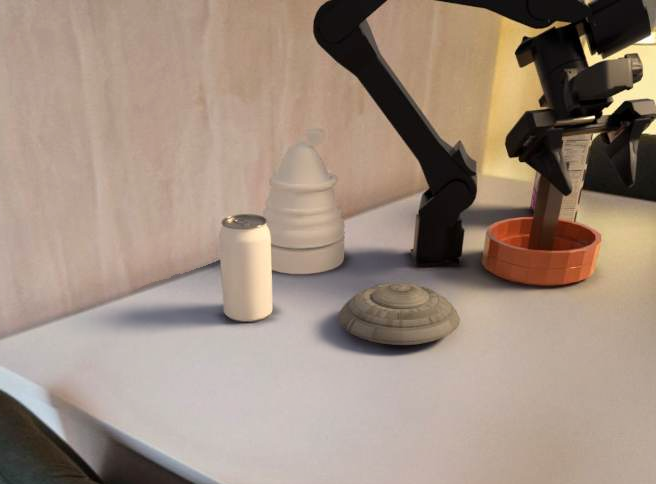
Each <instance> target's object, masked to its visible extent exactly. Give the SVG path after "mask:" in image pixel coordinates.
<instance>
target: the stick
mask: <svg viewBox="0 0 656 484" xmlns="http://www.w3.org/2000/svg"><path fill="white" fill-rule="evenodd" d="M565 163H566V166H567V169H569V164H570V163H569V162H567V161H565ZM562 199H563V194H562V193H561V192H560V191H559V190H558V189H556V188H555V187H554V186H553V185H552V184H551V183H550V182H549V181H548V180H547V179H545V178H544V177H543V176H542V175H540V181H539V186H538V192H537V197H536V203H535V209H534V212H533V215H532V217H533V220H532V225H531V231H530V236H529V242H528V248H527V249H531V250H543V251H552V249H553V244H554V239H555V234H556V229H557V224H558V219H559V214H560V209H561V204H562Z"/></svg>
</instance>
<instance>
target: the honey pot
mask: <svg viewBox="0 0 656 484" xmlns="http://www.w3.org/2000/svg"><path fill="white" fill-rule="evenodd" d="M325 133H326V131H325V129H322V128H309V129H307V130H305V135H306V138H307V139H306V140H304V139H300V140H297V141H294V143H292V145H290V146H289V147H288V149H287V150H286V151H285V153H284V155H283V157H282V158H281V161H280V163H279V165H278V168H277V170H276V172H274V173H272V174H271V175H270V176H269V178H268V183H269V185H270V186H271V187H270V190H269V193H268V197H267V198H266V200H265V203H264V205H265V207H264V210H263V212H262V215H263V217H264V218H266V220H267V222H266V224H267V227H268V229H269V231H270V237H271V267H272V271H274V272H278V273H281V274H282V273H283V274H290V275H309V274H319V273H324V272H327V271H331V270H334V269H336V268H337V267H339V266H341V265H342V264H343V262H344V260H345V233H346V232H345V227H346V224H345V221H344V219H343V217H342V215H341V214H342V211H341V208H340V206H339V201H340V200H339V199H338V198H337V196H336V192H335V189H334V187H335V186H336V185H337V184H338V182H339V177H338V175H337V174H336V173H335V172H333V171H332V170H328V169H327V167H326V165H325V162H324V160H323V158H322V157H321V155H320V153H319V152H318V150H317V149H316V147H318V146H320V145H321V143H322V141H323V140H324V137H325Z"/></svg>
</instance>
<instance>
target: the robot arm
mask: <svg viewBox="0 0 656 484" xmlns="http://www.w3.org/2000/svg"><path fill="white" fill-rule="evenodd" d="M387 1H388V0H327V1H325V2H323V4H321V5H320V6H319V8H318V9H317V10H316V12H315V15H314V18H313V23H312V33H313V37H314V39H315V42H316V43H317V44H318V46H319V47H320V48H321V49H323V51H324V52H326V53H327V55H329V56H330V57H331V58H332V59H333V60H334V61H335V62H336V63H337V64H339V65H340V66H341V67H342V68H344V69H345V70H347V72H349V73H351V74H352V75H354V77H356V79H357V80H358V81H359V82H360V84H361V86H363V88H364V90H365V91H366V92H367V93H368V95H369V96H370V97H371V99H372V101H374V103H375V104H376V105H377V106H378V108H379V109H380V111H381V113H382V114H383V115H384V117H386V120H388V122H389V123H390V124H391V126H392V128H393V129H394V130H395V132H396V133H397V135H398V136H399V137H400V138H401V139H402V141H403V142H404V144H405V146H406V147H407V148H408V149H409V150H410V152H411V153H412V155H413V156H414V157H415V159H416V160H417V161H418V164H419V166H420V169H421V172H422V173H423V176H424V178H425V181H426V184H427V186H428V188H427V189H426V190H425V191H424V192H423V193H422V194H421V197H420V202H419V207H418V212H417V214H416V215H415V223H414V233H413V235H414V237H413V245H412V248H411V249H410V255H411V257H412V260H413V261H414V264H415V266H417V267H444V266H447V267H448V266H460V265H461V260H460V258H461V257H462V255H463V247H464V239H465V231H466V230H465V228H464V227H463V218H462V217H461V214H462V213H463V212H464V211H467V210H468V209H469V208H470V207H472V205H473V204H474V202H475V201H476V198H477V193H478V173H477V160H475V159H473V158H472V157H471V156H470V155H469V154H468V152H467V150H466V149H465V146H464V144H463V142H462V140H458V141H457V142H456V143H455V144H454V146H451V145H450V144H449V143H448V142H447V141H445V140H444V139H443V138H441V136H440V135H439V133H438V132H437V131H436V129H435V128H434V126H433V125H432V124H431V122H430V121H429V120H428V118H427V116H426V115H425V114H424V112H423V111H422V110H421V108H420V107H419V105H418V104H417V103H416V101H415V100H414V99H413V97H412V95H411V94H410V93H409V91H408V90H407V89H406V87H405V85H403V83H402V82H401V80H400V79H399V77H398V76H397V74H396V73H395V72H394V70H393V69H392V68H391V66H390V65H389V64H388V62H387V61H386V58H384V57H383V55H382V53H381V51H380V49H379V47H378V44H377V42H376V39H375V37H374V34H373V31H372V28H371V26H370V24H369V21H368V20H367V19H368V18H369V17H370V16H372V15H373V13H375V12H376V11H377V10H378V9H379V8H380V7H382V6H383V5H384V4H385V3H386V2H387ZM435 1H436V2H442V3H448V4H454V5H460V6H466V7H472V8H479V9H485V10H487V11H490V12H492V13H495V14H497V15H500V16H502V17H503V18H505V19H508V20H509V21H513V22H515V23H518V24H521V25H523V26H526V27H529V28H531V29H535V30H543V29H546V28H548V29H547V30H544V31H543V32H541V33H539V34H537V35H535V36H527V35H524V36H522V37H521V38H522V39H521V42H520V43H519V44H518V46H517V48H516V49H515V51H514V55H515V59H516V62H517V65H518V67H519V68H520V69H522V68H525V67H527V66H529V65H531V64H532V63H533V64H534V67H535V71H536V73H537V77H538V80H539V83H540V86H541V90H542V93H543V94H542V95H541V96H540V98H539V99H538V100H537V101H538V104H539V108H542V109H531V110H525V111H524V113H523V114H522V115H521V116H520V118H519V119H518V120H517V121H516V123H515V124H514V125H513V127H512V128H511V129H510V130H509V131H508V132H507V134H506V136H505V139H504V140H505V141H504V146H505V151H506V153H507V156H508V158H509V159H515V158H517V159H518V162H519V163H525V164H526V165H527V166H529V167H530V168H531V169H533V170H534V171H535V172H536V171H537V172H538V173H540V174H541V175H542V176H543V177H544V178H545V179H547V180H548V181H549V182H550V183H551V184H552V185H553V186H554V187H555V188H556V189H558V190H559V191H560V192H561V193H562V194H563V195H564V196H569V195H570V194H571V193H572V186H571V180H570V176H569V173H568V169H567V166H566V163H565V159H564V156H563V152H562V148H561V144H562V137H572V136H580V135H589V134H593V135H597V134H600V136H601V140H602V142H603V143H605V145H606V147H605V148H604V149H603V150H604V153H605V154H606V156H607V158H608V159H609V161H610V162H611V165H612V166H613V168H614V170H615V171H616V174H617V175H618V178H619V179H620V180H621V182H622V183H623V185H624V186H625V187H626V189H627V188H632V187H633V186H634V185H635V183H636V174H637V163H638V162H637V161H638V149H639V143H640V140H641V136H642V135H643V133H644V132H645V131H646V130H647V129H649V127H650V126H651V124H652V123H653V122H654V121H655V120H656V102H655V99H651V98H647V97H646V98H637V99H636V98H635V99H628V100H624V101H623V102H622V103H621V104H620V105H619V106H618V107H617V108H616V109H615V110H614V111H613V112H612V113H611V114H604V112H603V111H604V110H605V109H608V108H609V107H610V106H611V105H612V104H613V103H614V102H615V99H614V97H613V96H616V95H618V94H620V93H622V92H624V91H630V90H632V89H634V85H635V84H637V83H639V82H641V81H642V79H643V77H644V65H643V62H642V60H641V57H640V55H639V53H638V52H632V53H626V54H624V56H622V57H618V58H613V59H607V58H609V57H611V56H613V55H615V54H617V53H619V52H621V51H623V50H624V49H627V48H630V47H631V46H633V45H635V44H637V43H639V42H641V41H643V40H644V39H646V38H649V37H650V36H651V35H652V27H651V22H650V17H649V12H648V8H647V6H646V5H645V4H644V1H643V0H592V1H590V2H588V3H586V1H585V0H434V2H435ZM557 22H560V23H567V24H565V25H561V26H559V27H556V26H555V25H554V26H552V25H553V24H555V23H557ZM550 26H552V27H550ZM549 27H550V28H549ZM583 36H584V38H585V40H586V41H585V42H586V44H587V48H588V51H589V52H590V55H591V56H592V57H593V56H594V55H596V54H597V56H600V58H601V59H602V60H600V61H598V62H596V63H594V64H592V65H589V63H588V60H587V56H586V53H585V50H584V46H583V44H582V41H581V38H582V37H583ZM546 107H548V109H546Z"/></svg>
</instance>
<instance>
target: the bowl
mask: <svg viewBox="0 0 656 484" xmlns="http://www.w3.org/2000/svg"><path fill="white" fill-rule="evenodd" d="M532 220H533V216H522V217H521V216H519V217H512V218H506V219H503V220H499V221H496V222H494V223H492V224H491V225H489V226H487V228H486V232H485V238H484V245H483V253H482V258H481V264H482V266H483V267H484V269H485V270H487V271H488V272H489V273H492V274H493V275H495V276H496V277H499V278H502V279H504V280H506V281H509V282H513V283H517V284H523V285H528V286H538V287H539V286H542V287H551V286H554V287H555V286H562V285H563V286H564V285H568V284H572V283H577V282H580V281H583V280H585V279H587V278H590V276H592V275H593V274H594V272H595V270H596V265H597V261H598V258H599V255H600V250H601V246H602V234H601V233H599V232H598V231H597V230H596V229H595V228H592V227H590V226H588V225H586V224H584V223H580V222H577V221H576V222H573V221H569V220H563V219H558V224H557V229H556V234H555V239H554V244H553V249H552V251H543V250H531V249H527V248H528V242H529V236H530V231H531V225H532Z"/></svg>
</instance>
